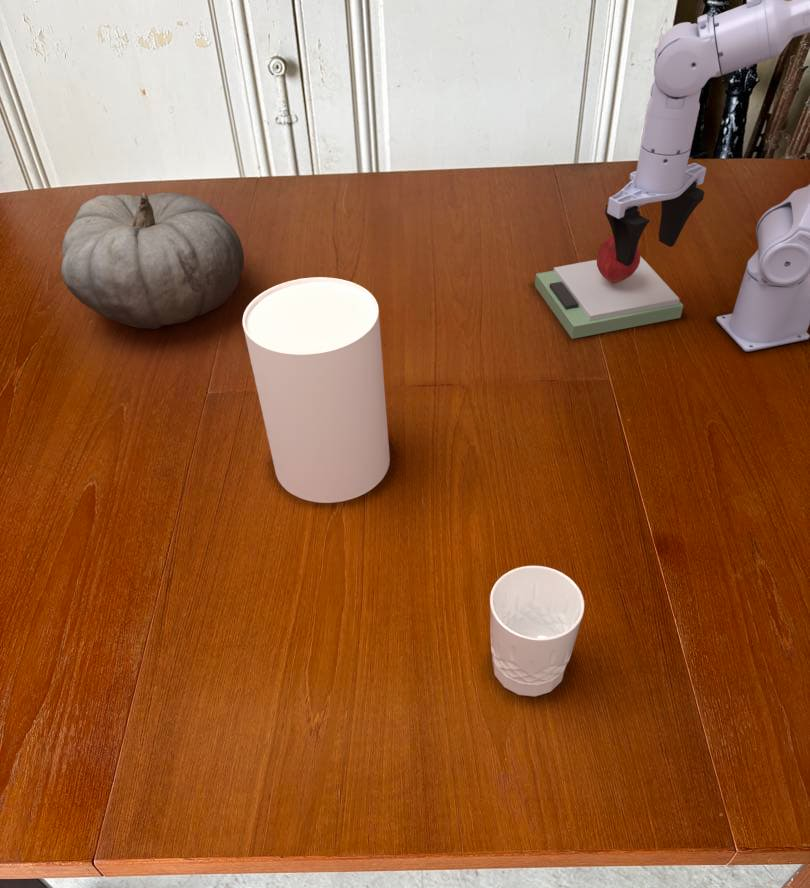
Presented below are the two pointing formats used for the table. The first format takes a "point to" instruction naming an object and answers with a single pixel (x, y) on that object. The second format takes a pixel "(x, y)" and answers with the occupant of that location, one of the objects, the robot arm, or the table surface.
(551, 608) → the white cup
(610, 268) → the onion
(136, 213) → the gourd
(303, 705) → the table surface
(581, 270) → the scale
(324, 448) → the canister
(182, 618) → the table surface
